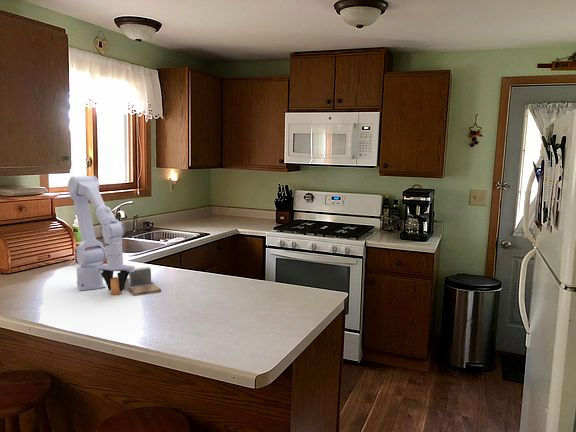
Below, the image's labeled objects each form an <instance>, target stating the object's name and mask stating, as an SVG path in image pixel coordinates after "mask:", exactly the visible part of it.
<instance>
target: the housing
mask: <svg viewBox="0 0 576 432" xmlns="http://www.w3.org/2000/svg"><path fill="white" fill-rule="evenodd" d="M151 270H152V268H150V267H149V266H146V267H138V268H135V271H134V272H130V273H129V275H128V278H129V287H137V286H144V285H151V284H154V281H152V271H151Z"/></svg>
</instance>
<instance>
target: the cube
mask: <svg viewBox="0 0 576 432" xmlns="http://www.w3.org/2000/svg"><path fill="white" fill-rule="evenodd" d="M129 287H130V286H129V276H128V277H127V279H126V283H125V287H124V290H123V291H129Z"/></svg>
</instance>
